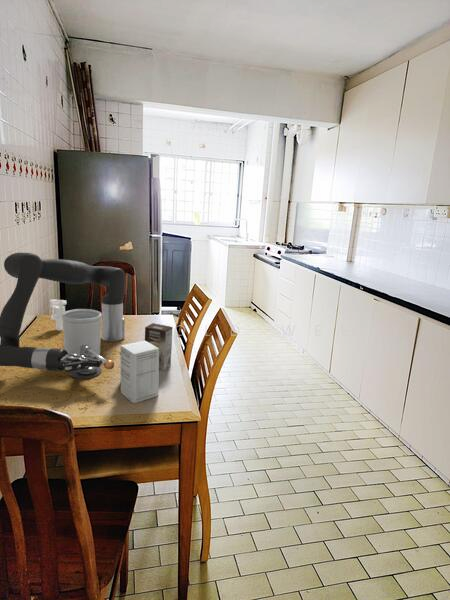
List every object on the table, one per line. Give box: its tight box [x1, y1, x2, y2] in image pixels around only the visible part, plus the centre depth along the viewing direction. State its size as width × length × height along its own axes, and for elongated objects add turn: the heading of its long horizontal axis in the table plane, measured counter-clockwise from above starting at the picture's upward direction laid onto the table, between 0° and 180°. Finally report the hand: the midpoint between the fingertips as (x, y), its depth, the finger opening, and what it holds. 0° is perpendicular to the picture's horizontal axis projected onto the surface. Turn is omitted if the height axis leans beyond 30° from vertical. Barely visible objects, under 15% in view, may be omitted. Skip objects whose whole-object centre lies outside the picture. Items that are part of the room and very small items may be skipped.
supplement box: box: [119, 340, 160, 404], centre depth 127 cm, size 10×9×17 cm
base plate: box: [69, 366, 102, 380], centre depth 142 cm, size 11×11×1 cm
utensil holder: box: [62, 308, 102, 359], centre depth 156 cm, size 15×15×18 cm
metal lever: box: [77, 345, 115, 376], centre depth 136 cm, size 20×7×9 cm, turn 46°
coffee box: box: [144, 322, 173, 371], centre depth 151 cm, size 9×6×16 cm
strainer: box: [49, 298, 67, 332], centre depth 186 cm, size 7×7×15 cm
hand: (100, 363), depth 130 cm, fingers closed
